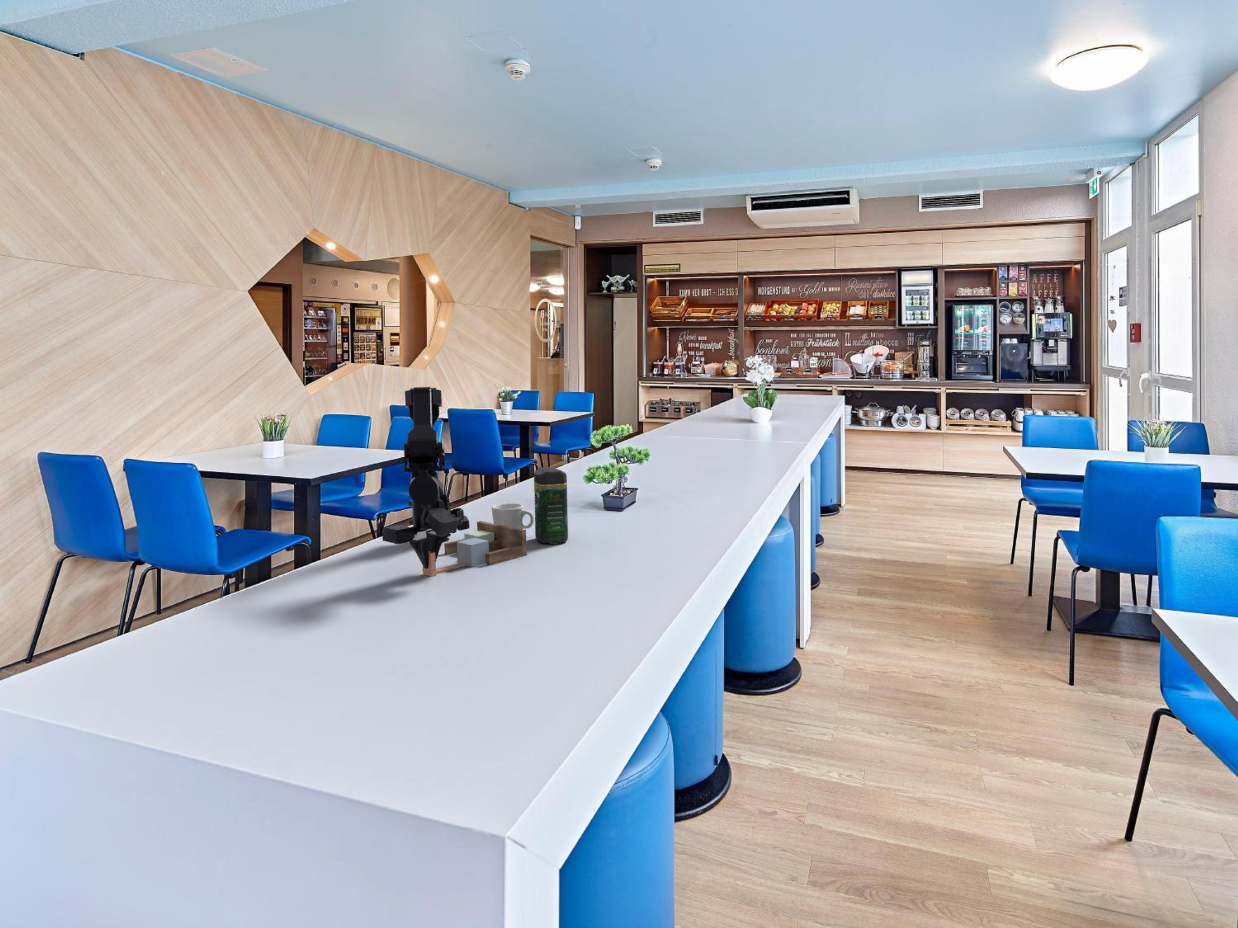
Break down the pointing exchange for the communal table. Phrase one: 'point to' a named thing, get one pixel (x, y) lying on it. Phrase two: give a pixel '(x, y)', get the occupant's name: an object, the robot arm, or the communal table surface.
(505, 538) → the lane rack
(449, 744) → the communal table surface
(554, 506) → the coffee jar
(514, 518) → the cup
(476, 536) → the green block
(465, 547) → the wooden bar with block
